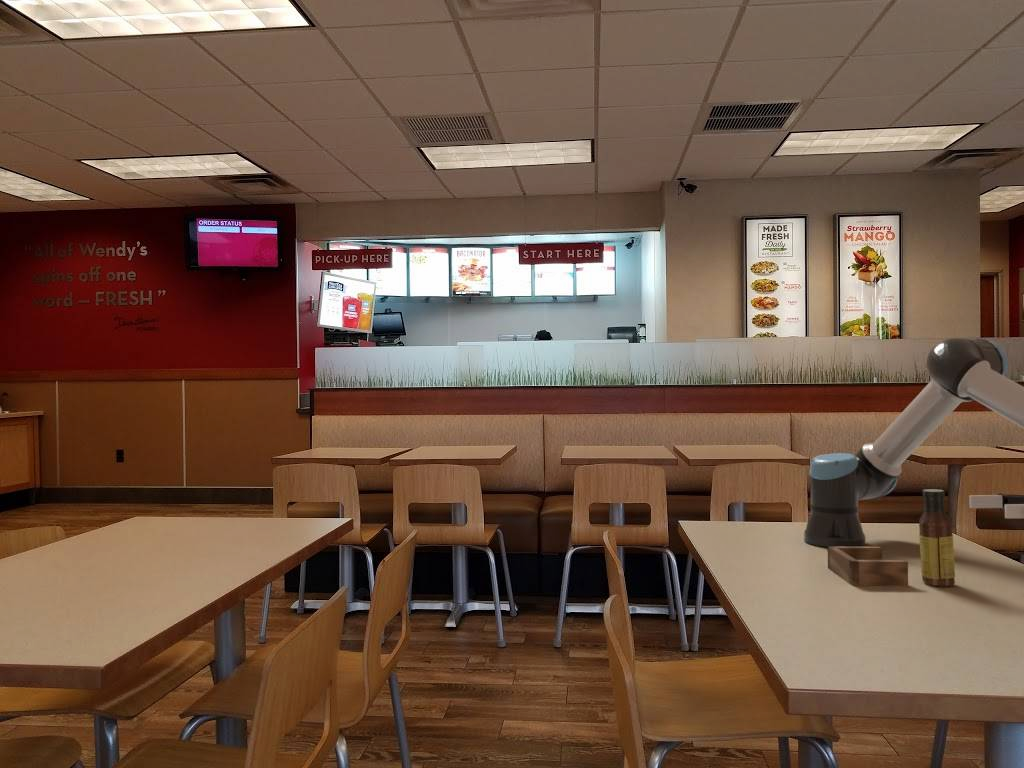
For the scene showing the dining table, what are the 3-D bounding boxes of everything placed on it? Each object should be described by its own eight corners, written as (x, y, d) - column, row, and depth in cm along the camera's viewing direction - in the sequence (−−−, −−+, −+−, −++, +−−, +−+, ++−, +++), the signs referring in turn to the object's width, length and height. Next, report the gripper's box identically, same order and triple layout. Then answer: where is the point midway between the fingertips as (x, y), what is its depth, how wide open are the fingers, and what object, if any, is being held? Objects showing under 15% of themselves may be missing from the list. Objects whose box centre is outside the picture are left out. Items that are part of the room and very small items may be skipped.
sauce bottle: (953, 582, 162) (952, 488, 162) (956, 589, 156) (955, 492, 156) (918, 579, 165) (917, 487, 165) (920, 586, 159) (919, 491, 159)
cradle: (879, 568, 175) (879, 546, 175) (908, 585, 160) (907, 561, 160) (827, 568, 176) (827, 546, 176) (851, 585, 161) (851, 561, 161)
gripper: (1139, 534, 145) (1022, 535, 147) (1056, 514, 170) (957, 514, 172) (1138, 495, 145) (1021, 496, 147) (1055, 480, 170) (956, 481, 172)
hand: (987, 506), depth 160 cm, fingers open, 13 cm apart
